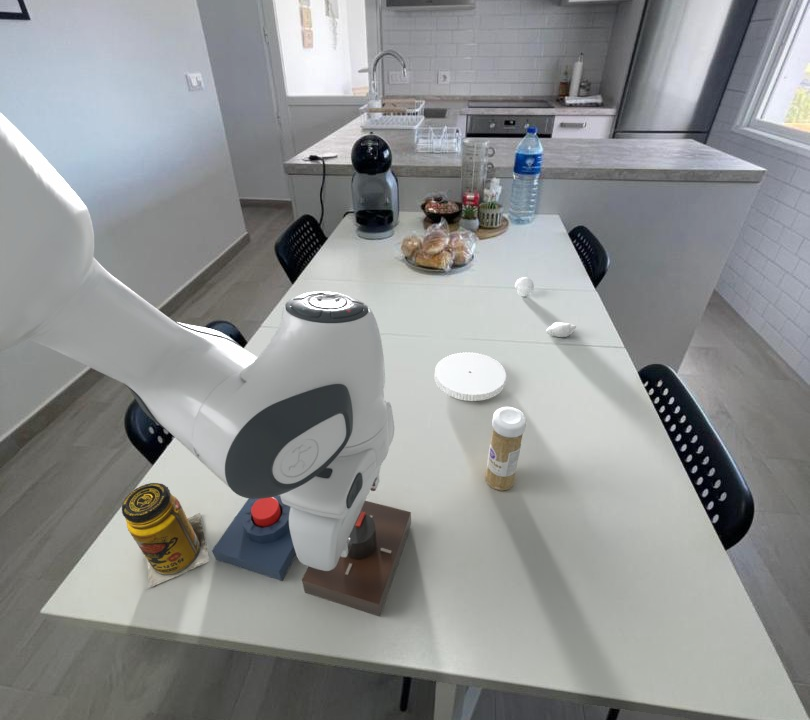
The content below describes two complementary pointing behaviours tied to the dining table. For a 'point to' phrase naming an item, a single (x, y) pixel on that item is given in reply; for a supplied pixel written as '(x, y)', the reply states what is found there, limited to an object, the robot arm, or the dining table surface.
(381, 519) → the dial panel
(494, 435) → the sprinkles bottle
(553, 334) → the dumpling
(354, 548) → the dial
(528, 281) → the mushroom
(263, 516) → the button
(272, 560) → the button housing
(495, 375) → the plastic lid
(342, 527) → the robot arm
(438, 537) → the dining table surface
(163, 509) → the condiment
